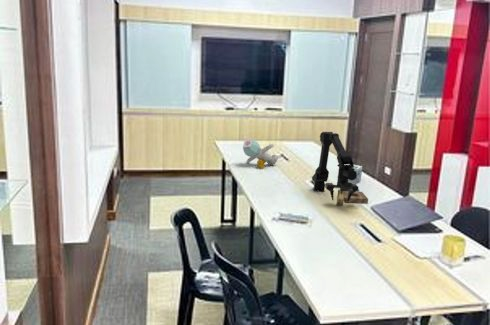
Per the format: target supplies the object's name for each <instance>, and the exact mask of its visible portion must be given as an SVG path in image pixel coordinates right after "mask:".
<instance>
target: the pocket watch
mask: <svg viewBox="0 0 490 325" xmlns="http://www.w3.org/2000/svg"><path fill="white" fill-rule="evenodd" d="M348 183H352V184H356V185H357V184H358V183H357V177H356V179H355V180H349V179H348ZM356 192H360V189H358V191H356Z"/></svg>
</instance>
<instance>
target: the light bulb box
mask: <svg viewBox="0 0 490 325" xmlns="http://www.w3.org/2000/svg"><path fill="white" fill-rule="evenodd" d="M354 171H355V172H356V173H357V183H356V184H358V183H360V182H361V181H362V172H363V165H357V164H354Z"/></svg>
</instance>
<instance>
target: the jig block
mask: <svg viewBox="0 0 490 325" xmlns="http://www.w3.org/2000/svg"><path fill="white" fill-rule="evenodd" d="M347 198H348V191H345V194H344V203H345V204H347V203H348V204H349V203H350V204H364V203H368V204H369V198H368V197H367V195H366V194H365V193H364V192H363V191H359V192H354V193H353V194H352V195H351V197H350V199H349V201H347Z"/></svg>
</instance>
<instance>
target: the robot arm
mask: <svg viewBox="0 0 490 325" xmlns="http://www.w3.org/2000/svg"><path fill="white" fill-rule="evenodd" d="M319 142H320V143H321V150H320V157H319V163H318V167H317V168H316V169H315V173H314V174H313V175H312V176H311V181H313V187H312V189H313V191H314V192H325V190H327V191H329V193H330V197H331V200H332V201H334V192H335V191H334V189H340V190H341V191H348V198H347V201H349V199H350V197H351V195H352V194H353V193H354V192H356V191H358V189H359V186H358V184H357V183H356V184H352V183H348V179H349V180H355V179H356V177H357V173H356V172H355V171H354V165H355V164H354V163H355V162H354V161H353V158H352V156H351V154H350V152H348V151H347V150H346V149H345V147H344V145H343V143H342V141H341V139H340V135H339V134H338V133H337V132H332V131H322V132H321V133H320V135H319ZM331 145H333V148H334V149H335V152H336V155H337V156H336V160H337V163H338V164H337V167H338V170H337V171H338V173H337V182H336V184H333V182H328V179H329V174H330V172H329V170H328V168H327V166H328V160H329V155H330V154H329V152H330V147H331ZM359 190H360V189H359Z"/></svg>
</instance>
